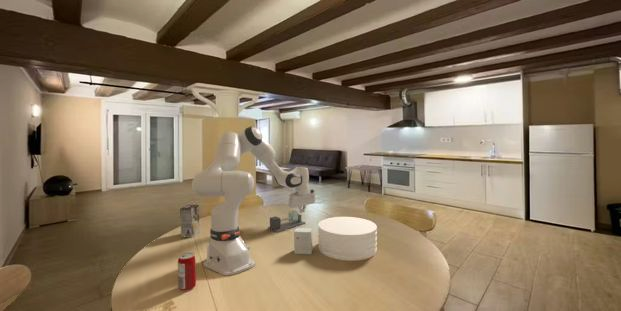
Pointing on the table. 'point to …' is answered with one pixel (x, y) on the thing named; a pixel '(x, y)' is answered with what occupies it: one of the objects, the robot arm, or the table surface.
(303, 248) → the small box
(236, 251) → the robot arm
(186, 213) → the coffee box
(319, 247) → the plate stack
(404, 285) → the table surface
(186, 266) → the soda can
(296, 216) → the sleeve
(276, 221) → the slider rail mechanism
